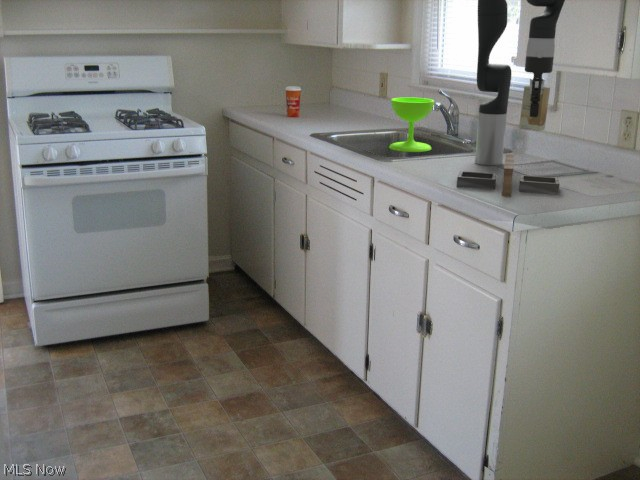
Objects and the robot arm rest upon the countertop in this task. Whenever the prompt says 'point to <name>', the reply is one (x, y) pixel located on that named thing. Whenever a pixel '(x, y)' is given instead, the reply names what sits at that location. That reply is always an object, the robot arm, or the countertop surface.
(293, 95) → the paper cup
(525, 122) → the skincare box
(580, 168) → the countertop surface
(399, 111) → the wineglass
